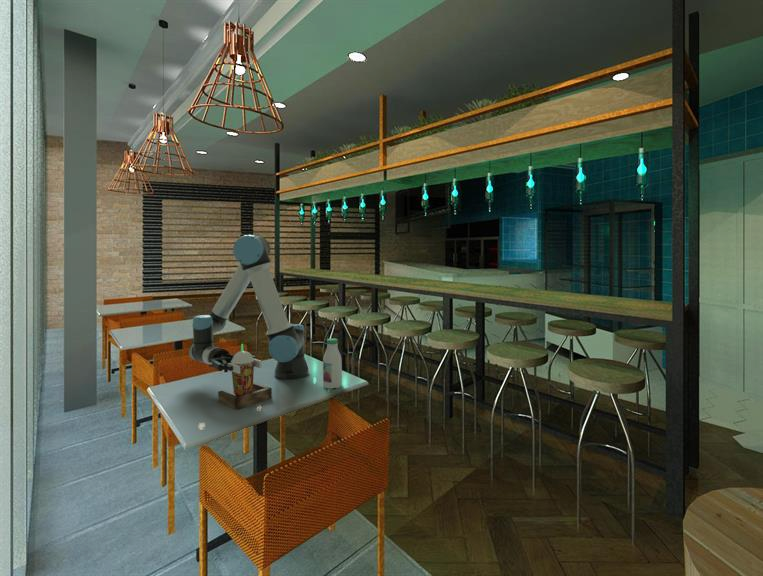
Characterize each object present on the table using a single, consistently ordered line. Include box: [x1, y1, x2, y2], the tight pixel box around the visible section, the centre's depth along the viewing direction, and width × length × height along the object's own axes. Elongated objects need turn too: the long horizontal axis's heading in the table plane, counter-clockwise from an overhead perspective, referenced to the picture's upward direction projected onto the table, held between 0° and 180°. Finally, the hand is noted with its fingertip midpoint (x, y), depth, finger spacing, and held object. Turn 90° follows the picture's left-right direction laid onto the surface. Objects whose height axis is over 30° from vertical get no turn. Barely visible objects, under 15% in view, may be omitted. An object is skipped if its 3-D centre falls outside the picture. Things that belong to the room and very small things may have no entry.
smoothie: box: [231, 343, 255, 397], centre depth 155 cm, size 8×8×20 cm
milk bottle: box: [322, 337, 343, 390], centre depth 171 cm, size 8×8×20 cm
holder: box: [217, 381, 273, 411], centre depth 155 cm, size 15×12×4 cm
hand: (250, 366), depth 152 cm, fingers closed on smoothie, 8 cm apart
